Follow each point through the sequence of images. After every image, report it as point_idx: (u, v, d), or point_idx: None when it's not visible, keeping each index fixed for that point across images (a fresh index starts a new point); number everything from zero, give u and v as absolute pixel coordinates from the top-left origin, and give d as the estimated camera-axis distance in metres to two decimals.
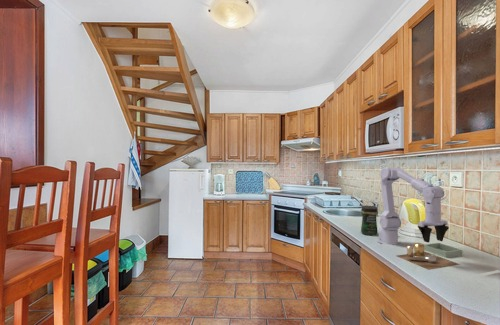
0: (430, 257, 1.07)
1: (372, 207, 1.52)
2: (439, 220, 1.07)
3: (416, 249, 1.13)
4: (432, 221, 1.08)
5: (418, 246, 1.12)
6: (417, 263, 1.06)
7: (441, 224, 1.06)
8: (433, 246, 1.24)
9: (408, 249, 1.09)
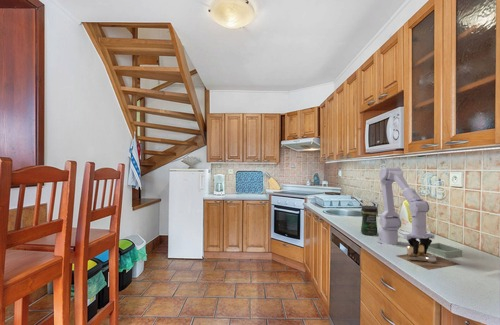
0: (430, 257, 1.07)
1: (372, 207, 1.52)
2: (424, 233, 1.11)
3: None
4: (417, 234, 1.12)
5: (418, 246, 1.12)
6: (417, 263, 1.06)
7: (425, 237, 1.10)
8: (433, 246, 1.24)
9: (408, 249, 1.09)
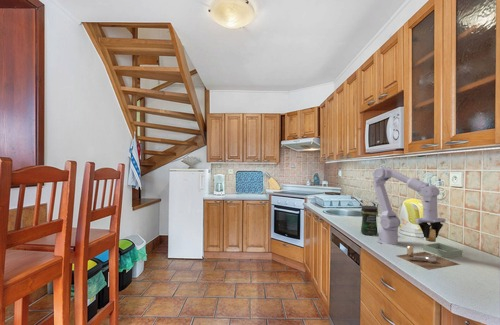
0: (430, 257, 1.07)
1: (372, 207, 1.52)
2: (435, 217, 1.14)
3: None
4: (428, 218, 1.15)
5: (429, 230, 1.15)
6: (417, 263, 1.06)
7: (437, 221, 1.13)
8: (433, 246, 1.24)
9: (408, 249, 1.09)
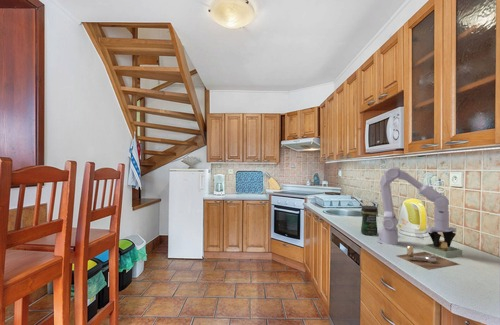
0: (430, 257, 1.07)
1: (372, 207, 1.52)
2: (447, 227, 1.17)
3: (439, 246, 1.19)
4: (440, 228, 1.18)
5: (441, 243, 1.18)
6: (417, 263, 1.06)
7: (448, 231, 1.15)
8: (433, 246, 1.24)
9: (408, 249, 1.09)
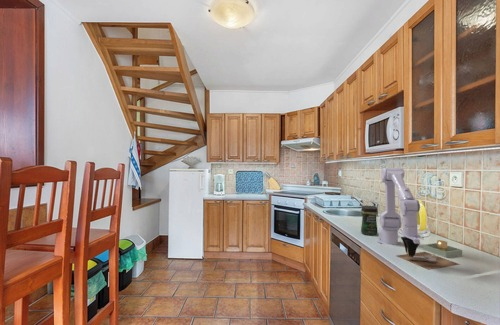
0: (430, 257, 1.07)
1: (372, 207, 1.52)
2: None
3: (439, 246, 1.19)
4: (416, 235, 1.07)
5: (441, 243, 1.18)
6: (417, 263, 1.06)
7: (419, 236, 1.09)
8: (433, 246, 1.24)
9: None
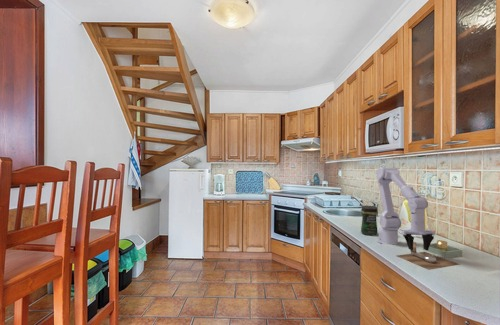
0: (429, 257, 1.08)
1: (372, 207, 1.52)
2: (422, 229, 1.13)
3: (439, 246, 1.19)
4: (415, 230, 1.14)
5: (441, 243, 1.18)
6: (417, 263, 1.06)
7: (423, 233, 1.12)
8: (433, 246, 1.24)
9: None
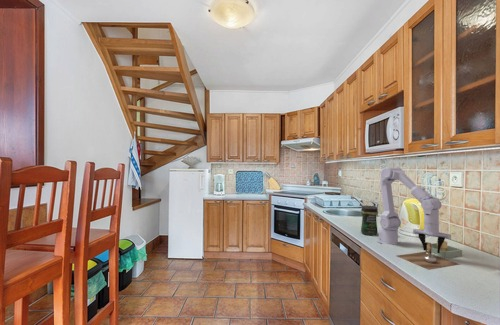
0: (429, 257, 1.08)
1: (372, 207, 1.52)
2: (431, 231, 1.12)
3: None
4: (425, 230, 1.14)
5: None
6: (417, 263, 1.06)
7: (430, 234, 1.11)
8: (433, 246, 1.24)
9: None
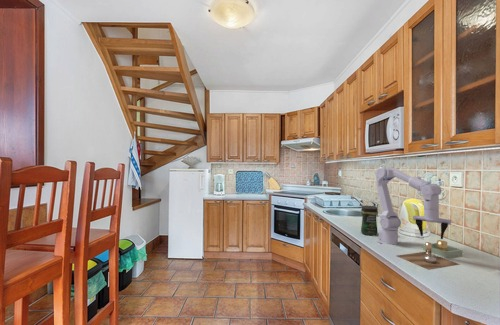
0: (429, 257, 1.08)
1: (372, 207, 1.52)
2: (431, 216, 1.12)
3: (439, 246, 1.19)
4: (425, 216, 1.14)
5: (441, 243, 1.18)
6: (417, 263, 1.06)
7: (430, 220, 1.11)
8: (433, 246, 1.24)
9: None
